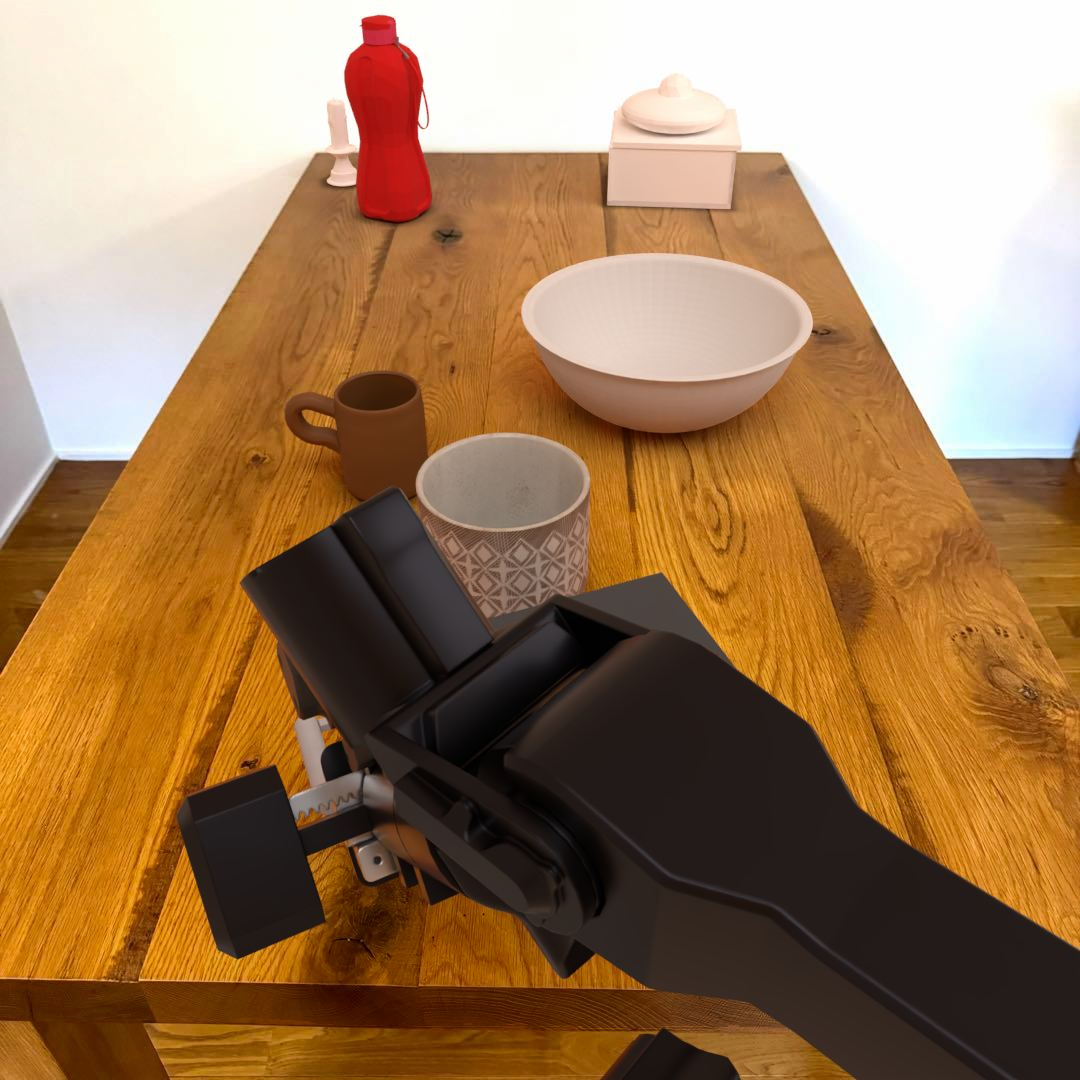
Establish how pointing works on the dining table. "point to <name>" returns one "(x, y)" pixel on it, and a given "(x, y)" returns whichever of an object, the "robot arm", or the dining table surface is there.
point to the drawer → (313, 750)
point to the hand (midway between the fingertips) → (392, 780)
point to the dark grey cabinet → (639, 609)
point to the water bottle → (387, 123)
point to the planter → (509, 517)
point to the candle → (340, 146)
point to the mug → (369, 430)
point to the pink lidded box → (673, 149)
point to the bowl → (665, 337)
